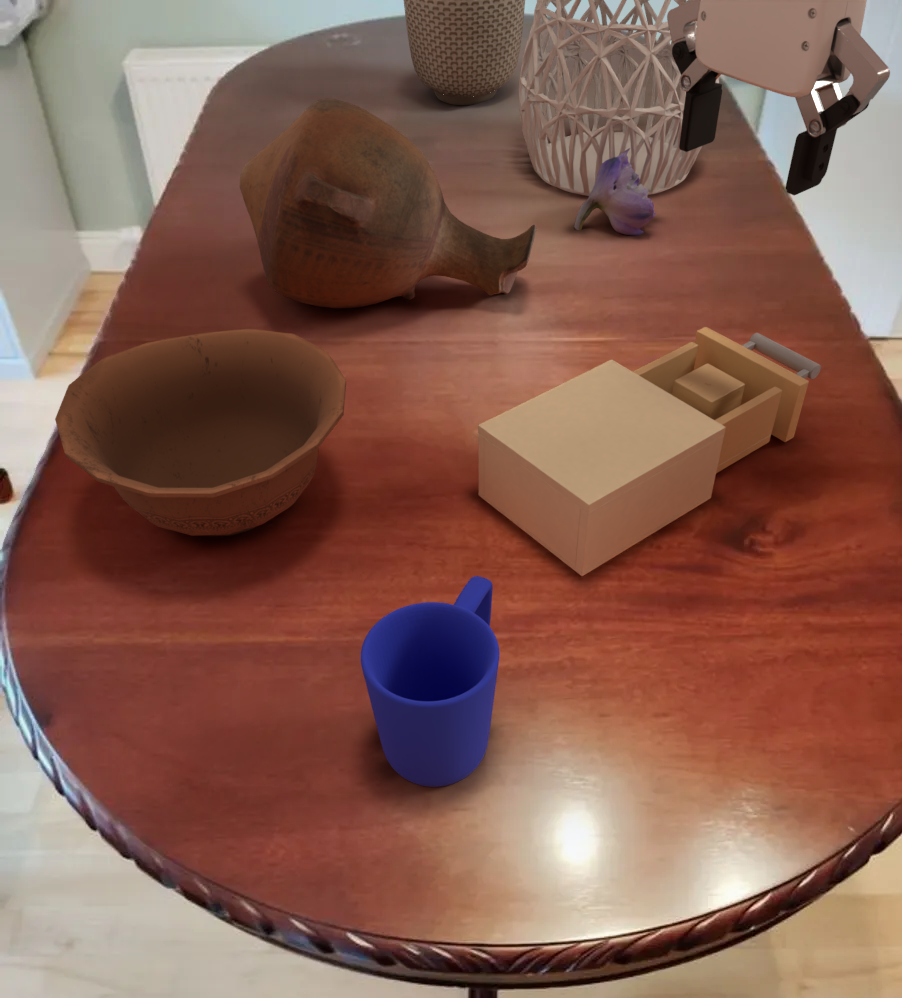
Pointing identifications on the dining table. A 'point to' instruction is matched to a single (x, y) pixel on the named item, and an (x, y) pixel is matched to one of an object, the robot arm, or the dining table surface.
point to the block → (709, 391)
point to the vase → (583, 153)
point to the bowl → (205, 426)
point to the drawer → (766, 392)
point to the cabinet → (598, 463)
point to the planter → (464, 45)
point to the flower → (618, 197)
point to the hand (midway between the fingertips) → (747, 166)
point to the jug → (362, 215)
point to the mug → (434, 685)
